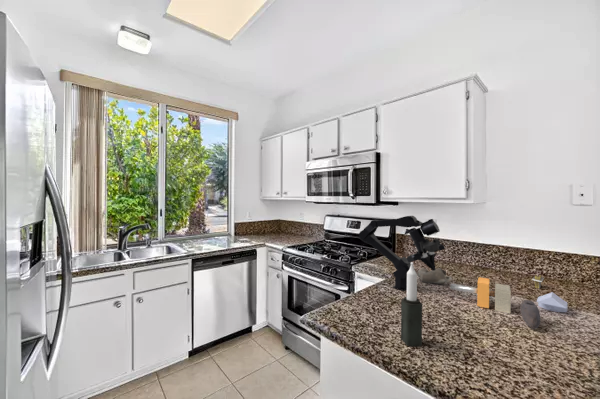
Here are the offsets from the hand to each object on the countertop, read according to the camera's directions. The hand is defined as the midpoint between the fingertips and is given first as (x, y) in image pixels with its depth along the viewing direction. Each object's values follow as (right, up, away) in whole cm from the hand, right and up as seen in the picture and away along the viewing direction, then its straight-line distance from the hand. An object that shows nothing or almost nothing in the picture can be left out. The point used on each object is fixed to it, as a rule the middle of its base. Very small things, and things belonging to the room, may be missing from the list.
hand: (434, 270), depth 126 cm
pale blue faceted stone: (+42, -13, -14) cm, 46 cm away
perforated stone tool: (+21, -12, -29) cm, 38 cm away
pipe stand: (+14, -12, -10) cm, 21 cm away
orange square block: (+16, -12, -11) cm, 23 cm away
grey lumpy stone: (+11, -13, +21) cm, 26 cm away
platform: (+63, -14, +15) cm, 66 cm away
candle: (-29, -11, -43) cm, 53 cm away
